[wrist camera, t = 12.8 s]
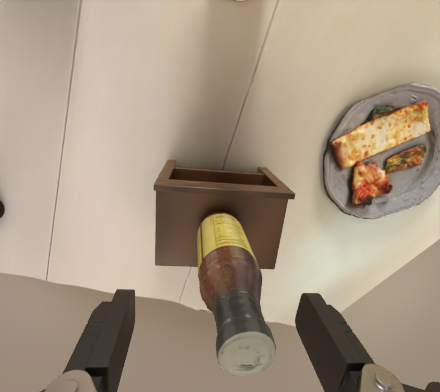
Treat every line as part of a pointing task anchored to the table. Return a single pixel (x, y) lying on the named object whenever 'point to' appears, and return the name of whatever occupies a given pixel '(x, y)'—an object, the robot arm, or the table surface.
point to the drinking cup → (1, 209)
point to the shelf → (217, 210)
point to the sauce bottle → (233, 295)
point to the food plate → (385, 153)
